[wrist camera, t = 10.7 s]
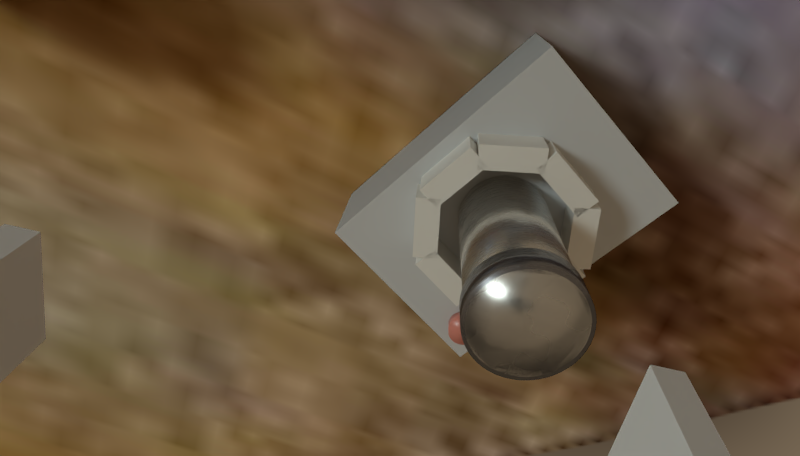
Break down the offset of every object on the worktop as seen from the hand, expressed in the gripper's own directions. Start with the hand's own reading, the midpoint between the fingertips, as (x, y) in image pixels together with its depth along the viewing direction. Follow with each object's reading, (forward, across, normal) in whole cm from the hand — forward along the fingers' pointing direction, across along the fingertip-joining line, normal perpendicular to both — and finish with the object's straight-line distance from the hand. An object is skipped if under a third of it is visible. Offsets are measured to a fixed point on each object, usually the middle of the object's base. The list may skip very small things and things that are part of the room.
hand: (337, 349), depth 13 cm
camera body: (+24, +6, -4) cm, 25 cm away
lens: (+18, +6, -3) cm, 19 cm away
